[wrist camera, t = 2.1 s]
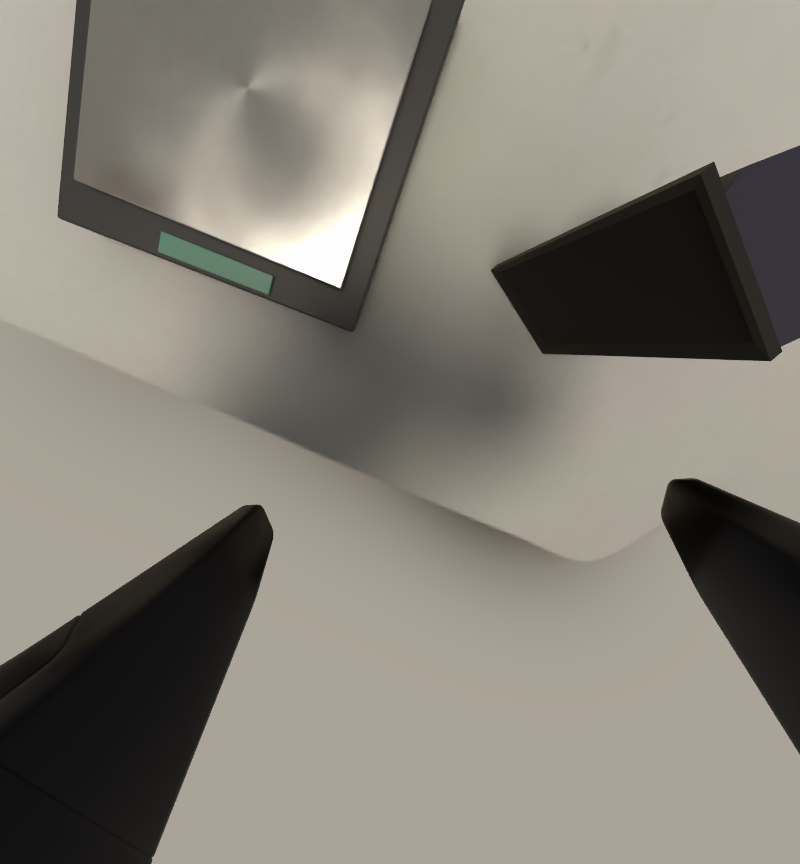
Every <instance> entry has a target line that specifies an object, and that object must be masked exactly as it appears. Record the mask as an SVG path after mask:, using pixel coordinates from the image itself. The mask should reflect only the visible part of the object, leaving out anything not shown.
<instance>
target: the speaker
mask: <svg viewBox="0 0 800 864" xmlns="http://www.w3.org/2000/svg"><path fill="white" fill-rule="evenodd" d="M491 271H492V272H493V274H494V275H495V277H496V279H497V280H498V282H499V283H500V285H501V287H502V288H503V290H504V291H505V293H506V295H507V296H508V298H509V299H510V301H511V303H512V304H513V306H514V307H515V309H516V311H517V312H518V314H519V315H520V317H521V319H522V320H523V322H524V323H525V325H526V327H527V328H528V330H529V331H530V333H531V335H532V336H533V338H534V339H535V341H536V343H537V344H538V346H539V348H540V349H541V351H542V352H543V354H570V355H601V356H631V357H662V358H692V359H723V360H753V361H772V360H773V359H774V358H775V357H776V356H777V355H779V354H780V353H781V352H782V349H781V346H783V345H785V344H787V343H790V342H792V341H794V340H796V339H798V338H800V146H797V147H795V148H792V149H790V150H787V151H784V152H782V153H779V154H777V155H774V156H772V157H769V158H766V159H764V160H761V161H759V162H756V163H753V164H751V165H748V166H746V167H744V168H741V169H739V170H736V171H734V172H732V173H729V174H727V175H725V176H722V177H719V174H718V171H717V168H716V166H715V163H714V162H712V163H710V164H708V165H706V166H704V167H702V168H700V169H698V170H696V171H693V172H691V173H689V174H687V175H685V176H683V177H681V178H679V179H677V180H674V181H672V182H670V183H668V184H666V185H664V186H662V187H660V188H658V189H656V190H653V191H651V192H649V193H647V194H645V195H643V196H641V197H639V198H637V199H635V200H632V201H630V202H628V203H626V204H624V205H622V206H620V207H618V208H616V209H613V210H611V211H609V212H607V213H605V214H603V215H601V216H599V217H597V218H595V219H592V220H590V221H588V222H586V223H584V224H582V225H580V226H578V227H576V228H573V229H571V230H569V231H567V232H565V233H563V234H561V235H559V236H557V237H555V238H552V239H550V240H548V241H546V242H544V243H542V244H540V245H538V246H536V247H534V248H531V249H529V250H527V251H525V252H523V253H521V254H519V255H517V256H515V257H512V258H510V259H508V260H506V261H504V262H502V263H500V264H498V265H496V266H495V267H494V268H493V269H492V270H491Z"/></svg>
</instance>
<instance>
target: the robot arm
mask: <svg viewBox="0 0 800 864" xmlns="http://www.w3.org/2000/svg"><path fill="white" fill-rule="evenodd" d="M661 516H662V520H663V523H664V525H665V527H666V529H667V531H668V533H669V535H670V537H671V539H672V541H673V543H674V545H675V547H676V549H677V551H678V553H679V555H680V557H681V560H682V562H683V563H684V565H685V568H686V570H687V572H688V573H689V576H690V578H691V580H692V582H693V584H694V585H695V587H696V589H697V591H698V593H699V595H700V596H701V598H702V599H703V601H704V603H705V604H706V606H707V607H708V609H709V611H710V612H711V614H712V616H713V617H714V619H715V620H716V622H717V624H718V625H719V627H720V628H721V630H722V631H723V633H724V635H725V636H726V638H727V639H728V641H729V643H730V644H731V646H732V647H733V649H734V651H735V652H736V654H737V655H738V657H739V659H740V660H741V662H742V663H743V665H744V666H745V668H746V669H747V671H748V673H749V674H750V676H751V678H752V679H753V681H754V682H755V684H756V685H757V687H758V689H759V690H760V692H761V694H762V695H763V697H764V698H765V700H766V701H767V703H768V705H769V706H770V708H771V709H772V711H773V712H774V714H775V716H776V717H777V719H778V721H779V722H780V724H781V725H782V727H783V728H784V730H785V732H786V733H787V735H788V736H789V738H790V739H791V741H792V743H793V744H794V746H795V748H796V749H797V751H798V752H799V753H800V523H799V522H796V521H794V520H791V519H789V518H787V517H785V516H782V515H780V514H777V513H775V512H773V511H770V510H768V509H766V508H763V507H761V506H759V505H756V504H754V503H752V502H749V501H747V500H745V499H742V498H740V497H738V496H735V495H733V494H731V493H728V492H726V491H723V490H721V489H719V488H717V487H714V486H712V485H710V484H707V483H705V482H703V481H700V480H698V479H694V478H687V479H674V480H672V481H670V482H669V484H668V486H667V490H666V494H665V497H664V501H663V505H662V509H661ZM272 540H273V529H272V527H271V524H270V522H269V520H268V517H267V515H266V513H265V511H264V509H263V507H262V506H261V505H245V506H242V507H241V508H239V509H238V510H236V511H235V512H233V513H232V514H230V515H229V516H227V517H226V518H224V519H223V520H221V521H220V522H218V523H217V524H215V525H214V526H212V527H211V528H209V529H208V530H206V531H205V532H203V533H202V534H200V535H199V536H197V537H195V538H194V539H192V540H191V541H189V542H188V543H187V544H185V545H183V546H182V547H181V548H179V549H177V550H176V551H175V552H173V553H171V554H170V555H168V556H167V557H165V558H164V559H162V560H161V561H159V562H158V563H156V564H155V565H153V566H152V567H150V568H149V569H147V570H146V571H144V572H143V573H141V574H140V575H139V576H137V577H135V578H134V579H132V580H131V581H129V582H128V583H126V584H125V585H123V586H122V587H120V588H119V589H117V590H116V591H114V592H113V593H111V594H110V595H108V596H107V597H105V598H104V599H102V600H101V601H99V602H98V603H96V604H95V605H93V606H92V607H90V608H89V609H87V610H86V611H84V612H83V613H82V614H81V616H76V617H75V618H73V619H72V620H70V621H69V622H67V623H66V624H64V625H63V626H61V627H60V628H58V629H57V630H56V631H54V632H52V633H51V634H49V635H48V636H46V637H45V638H43V639H42V640H40V641H38V642H37V643H35V644H34V645H32V646H31V647H29V648H28V649H26V650H25V651H23V652H21V653H20V654H18V655H17V656H15V657H13V658H12V659H10V660H9V661H7V662H6V663H4V664H2V665H1V666H0V864H151V863H152V857H153V856H154V854H155V852H156V849H157V847H158V844H159V842H160V839H161V837H162V834H163V832H164V829H165V827H166V824H167V822H168V819H169V816H170V814H171V811H172V809H173V806H174V803H175V801H176V799H177V796H178V794H179V791H180V789H181V786H182V784H183V781H184V779H185V776H186V774H187V771H188V768H189V766H190V763H191V761H192V758H193V756H194V753H195V751H196V748H197V746H198V743H199V741H200V738H201V736H202V733H203V731H204V728H205V726H206V723H207V721H208V718H209V716H210V713H211V710H212V708H213V705H214V703H215V700H216V698H217V695H218V693H219V690H220V688H221V685H222V683H223V680H224V678H225V675H226V673H227V670H228V667H229V665H230V663H231V660H232V657H233V655H234V652H235V650H236V647H237V645H238V642H239V640H240V637H241V635H242V632H243V630H244V627H245V625H246V622H247V619H248V617H249V615H250V612H251V609H252V607H253V604H254V601H255V599H256V596H257V592H258V589H259V586H260V582H261V579H262V575H263V572H264V568H265V565H266V561H267V558H268V554H269V551H270V547H271V544H272Z"/></svg>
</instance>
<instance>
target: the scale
mask: <svg viewBox="0 0 800 864" xmlns="http://www.w3.org/2000/svg"><path fill="white" fill-rule="evenodd" d="M464 1H465V0H77V3H76V14H75V25H74V36H73V47H72V59H71V70H70V81H69V92H68V104H67V115H66V126H65V137H64V149H63V160H62V171H61V182H60V193H59V205H58V217H59V218H60V219H62V220H65V221H67V222H70V223H72V224H75V225H78V226H80V227H83V228H85V229H88V230H90V231H93V232H96V233H98V234H101V235H103V236H106V237H108V238H111V239H114V240H116V241H119V242H121V243H124V244H126V245H129V246H132V247H134V248H137V249H139V250H142V251H145V252H147V253H150V254H152V255H155V256H157V257H160V258H163V259H165V260H168V261H170V262H173V263H175V264H178V265H181V266H183V267H186V268H188V269H191V270H193V271H196V272H199V273H201V274H204V275H206V276H209V277H211V278H214V279H217V280H219V281H222V282H224V283H227V284H229V285H232V286H235V287H237V288H240V289H242V290H245V291H247V292H250V293H253V294H255V295H258V296H260V297H263V298H265V299H268V300H271V301H273V302H276V303H278V304H281V305H283V306H286V307H289V308H291V309H294V310H296V311H299V312H301V313H304V314H307V315H309V316H312V317H314V318H317V319H319V320H322V321H325V322H327V323H330V324H332V325H335V326H337V327H340V328H343V329H345V330H348V331H350V332H353V331H354V330H355V328H356V325H357V322H358V319H359V316H360V313H361V310H362V307H363V304H364V301H365V298H366V295H367V292H368V289H369V286H370V283H371V280H372V277H373V274H374V271H375V268H376V265H377V262H378V259H379V256H380V253H381V250H382V247H383V244H384V241H385V238H386V235H387V232H388V229H389V226H390V224H391V221H392V218H393V215H394V212H395V209H396V206H397V203H398V200H399V197H400V194H401V191H402V188H403V185H404V182H405V179H406V176H407V173H408V170H409V167H410V164H411V161H412V158H413V155H414V152H415V149H416V146H417V143H418V140H419V137H420V134H421V131H422V128H423V125H424V122H425V119H426V116H427V113H428V110H429V107H430V104H431V101H432V98H433V95H434V92H435V89H436V86H437V83H438V80H439V77H440V74H441V71H442V68H443V65H444V62H445V60H446V57H447V54H448V51H449V48H450V45H451V42H452V39H453V36H454V33H455V30H456V27H457V24H458V21H459V17H460V14H461V11H462V8H463V5H464Z"/></svg>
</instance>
